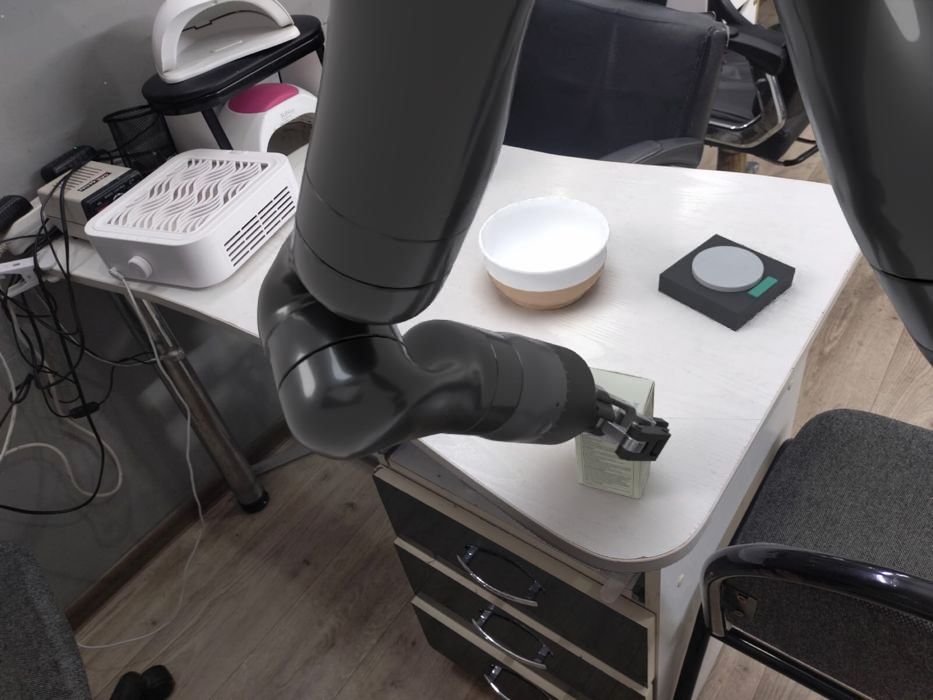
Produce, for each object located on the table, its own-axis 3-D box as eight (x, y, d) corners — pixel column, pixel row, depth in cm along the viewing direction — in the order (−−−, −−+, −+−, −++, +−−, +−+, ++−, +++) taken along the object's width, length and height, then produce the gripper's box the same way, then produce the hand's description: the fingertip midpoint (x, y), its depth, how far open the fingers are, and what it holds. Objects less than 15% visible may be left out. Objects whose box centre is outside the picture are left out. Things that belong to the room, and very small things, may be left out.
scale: (791, 285, 82) (797, 262, 79) (735, 331, 78) (739, 308, 75) (713, 250, 89) (716, 228, 86) (658, 290, 84) (659, 268, 82)
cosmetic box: (651, 465, 66) (660, 379, 58) (640, 501, 63) (647, 417, 55) (587, 448, 68) (586, 363, 60) (573, 482, 66) (570, 398, 57)
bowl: (558, 341, 80) (555, 289, 75) (459, 293, 89) (451, 243, 84) (634, 271, 88) (636, 219, 82) (536, 233, 96) (533, 183, 91)
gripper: (623, 396, 43) (716, 414, 55) (478, 299, 52) (586, 333, 64) (566, 494, 45) (669, 490, 57) (434, 383, 53) (548, 401, 66)
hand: (625, 407), depth 61 cm, fingers closed on cosmetic box, 7 cm apart
